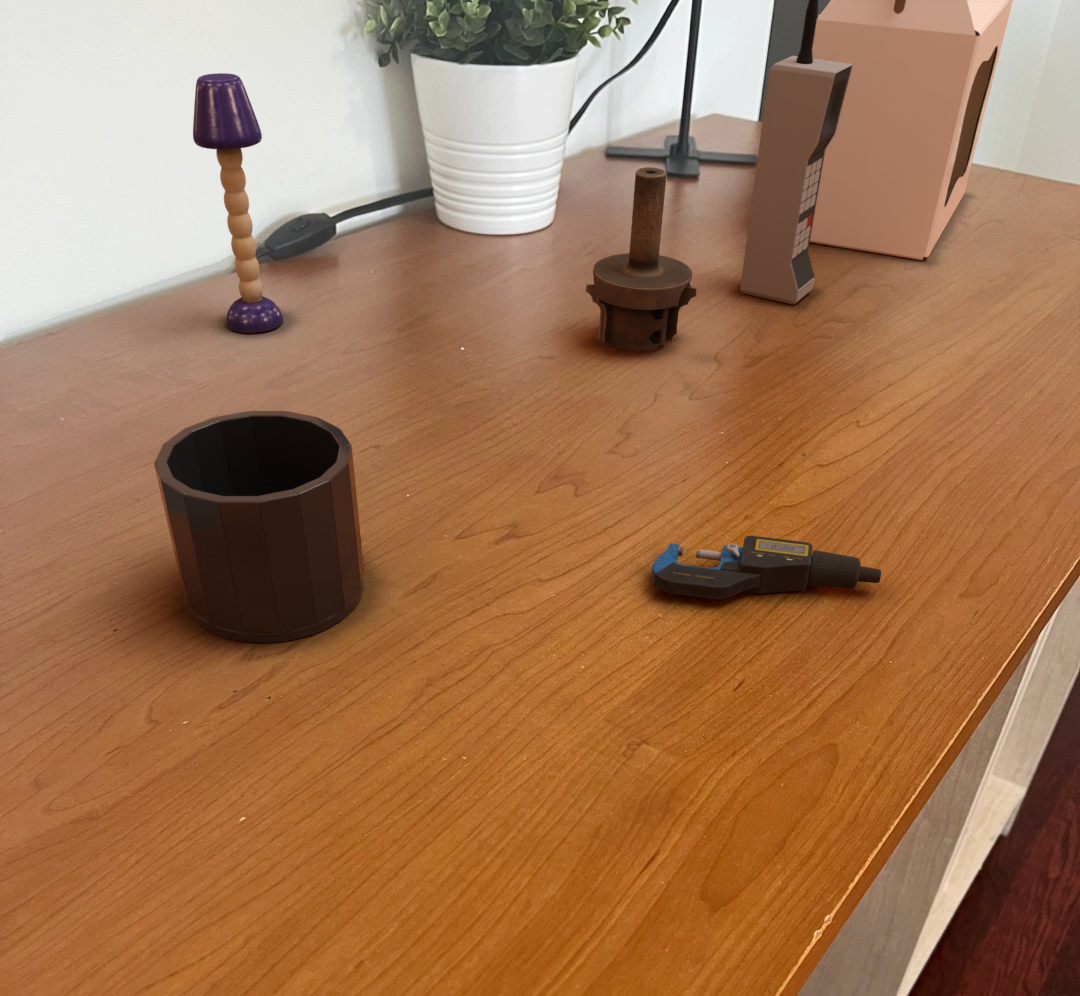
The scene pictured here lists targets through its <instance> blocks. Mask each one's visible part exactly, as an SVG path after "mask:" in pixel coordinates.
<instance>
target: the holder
mask: <svg viewBox="0 0 1080 996" xmlns="http://www.w3.org/2000/svg"><path fill="white" fill-rule="evenodd" d="M153 466H154V470H155V474H156V480H157V484H158V487H159V488H158V489H159V493H160V497H161V502H162V505H163V510H164V514H165V519H166V523H167V527H168V532H169V537H170V540H171V546H172V550H173V553H174V558H175V564H176V567H177V572H178V575H179V580H180V584H181V589H182V592H183V595H184V598H185V601H186V606H187V609H188V612H189V613H190V615H191V617H192V618H193V620H195V622H196V623H197V624H198V625H200V626H201V627H202V628H203V629H205V630H207V631H209V632H210V633H212V634H215V635H217V636H219V637H223V638H226V639H229V640H233V641H238V642H243V643H244V642H245V643H257V644H258V643H261V644H267V643H269V644H270V643H280V642H281V643H282V642H289V641H294V640H299V639H302V638H306V637H310V636H312V635H315V634H318V633H321V632H323V631H325V630H327V629H329V628H331V627H333V626H335V625H337V624H338V623H340V622H341V621H343V620H344V619H345V618H346V617H348V616H349V615H350V614H351V613H352V612H353V611H354V610H355V608H356V607H357V606H358V604H359V603H360V601H361V599H362V597H363V594H364V590H365V581H364V579H365V578H364V573H365V569H364V567H365V565H364V556H363V546H362V538H361V537H362V535H361V527H360V526H361V525H360V515H359V506H358V505H359V504H358V495H357V486H356V475H355V465H354V455H353V446H352V443H351V442H350V440H349V439H348V437H347V436H346V435H345V433H344V432H343V430H342V429H341V428H340V427H338V426H336V425H334V424H332V423H330V422H328V421H326V420H324V419H322V418H321V417H317V416H313V415H309V414H303V413H300V412H299V413H298V412H293V411H289V410H248V411H242V412H236V413H230V414H224V415H217V416H214V417H211V418H207V419H206V420H203V421H200V422H198V423H195V424H192V425H189V426H187V427H184V428H183V429H181V430H180V431H179V432H177V433H176V434H175V435H173V436H172V437H170V438H169V439H168V440H166V441H165V442H164V443H163V444H162V445H161V447H160V449H159V451H158V453H157V456H156V458H155V460H154V463H153Z"/></svg>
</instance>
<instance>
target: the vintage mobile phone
mask: <svg viewBox="0 0 1080 996" xmlns="http://www.w3.org/2000/svg"><path fill="white" fill-rule="evenodd" d="M818 15H819V0H808V3H807V7H806V10H805V15H804V22H803V30H802V35H801V36H802V37H801V43H800V50H799V52H798V55H791V56H789V57H786V58H784V59H782V60H780V61H777V62H775V63H773V64H772V66H770V67H769V71H768V77H767V78H768V79H767V86H766V93H765V100H764V107H763V108H764V109H763V115H762V122H761V130H760V138H759V146H758V154H757V160H756V167H755V174H754V175H755V176H754V182H753V190H752V198H751V205H750V213H749V220H748V227H747V234H746V242H745V248H744V249H745V250H744V255H743V257H744V258H743V264H742V272H741V279H740V286H739V287H740V288H739V290H740V292H741V293H742V294H745V295H748V296H749V295H750V296H754V297H758V298H762V299H766V300H771V301H775V302H779V303H784V304H789V305H795V304H797V303H799V301H801V299H803V298H804V297H805V296H806V295H807V294H809V293H810V292H811V291H812V290H813V289H814V285H815V278H816V277H815V273H814V268H813V265H812V261H811V257H810V253H809V249H810V243H811V242H810V237H811V232H812V226H813V220H814V214H815V208H816V202H817V196H818V190H819V184H820V179H821V173H822V167H823V161H824V155H825V149H826V148H827V146H828V145H829V143H830V141H831V140H832V138H833V137H834V135H835V132H836V128H837V124H838V120H839V116H840V112H841V109H842V105H843V101H844V97H845V93H846V89H847V85H848V81H849V77H850V73H851V70H852V64H849V63H842V62H835V61H828V60H820V59H813V56H812V47H813V41H814V34H815V28H816V22H817V16H818Z"/></svg>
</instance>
